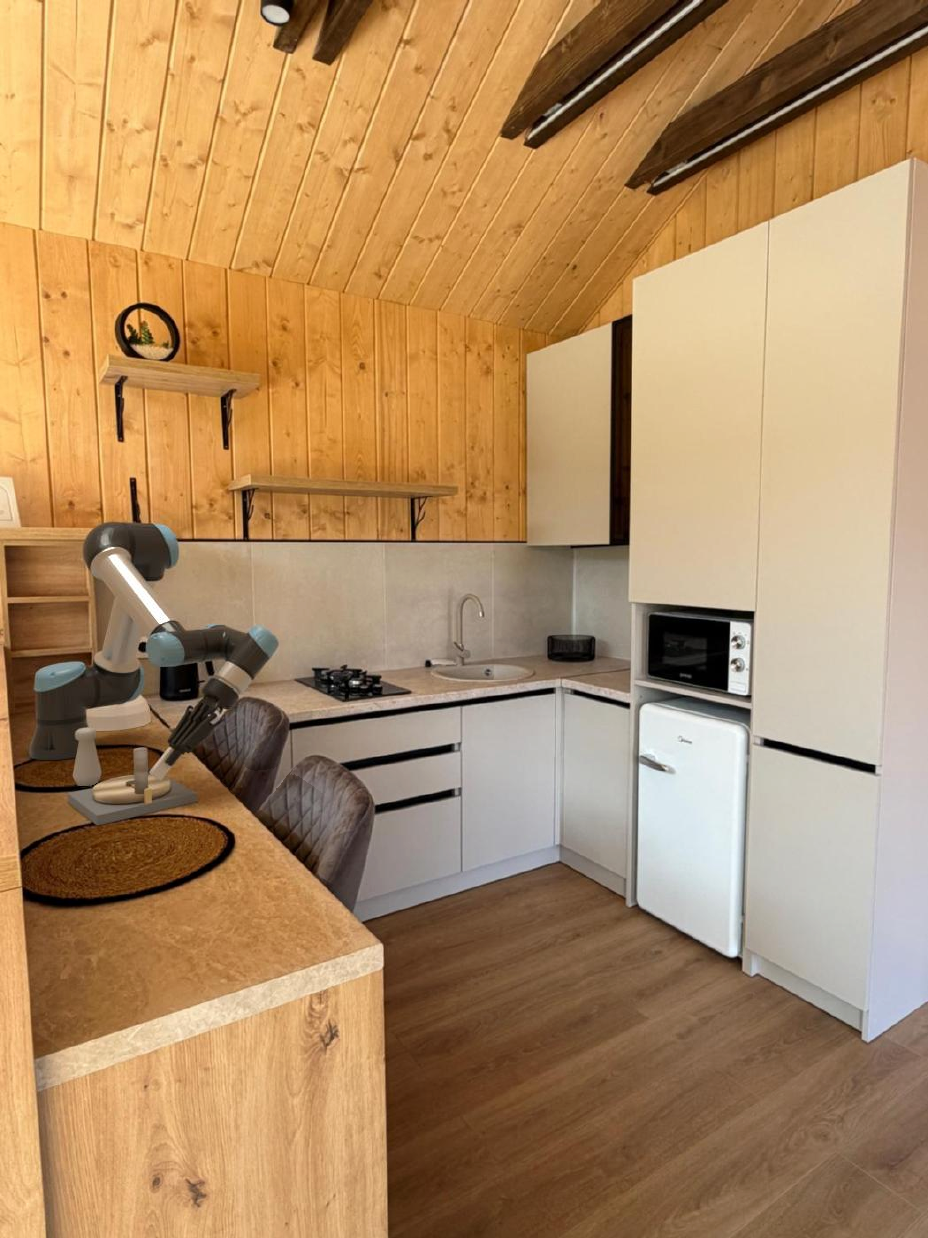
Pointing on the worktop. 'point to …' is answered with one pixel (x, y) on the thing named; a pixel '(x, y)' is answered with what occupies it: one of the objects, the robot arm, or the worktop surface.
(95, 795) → the dial
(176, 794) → the stand base
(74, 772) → the salt shaker
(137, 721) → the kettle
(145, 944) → the worktop surface
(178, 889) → the worktop surface
